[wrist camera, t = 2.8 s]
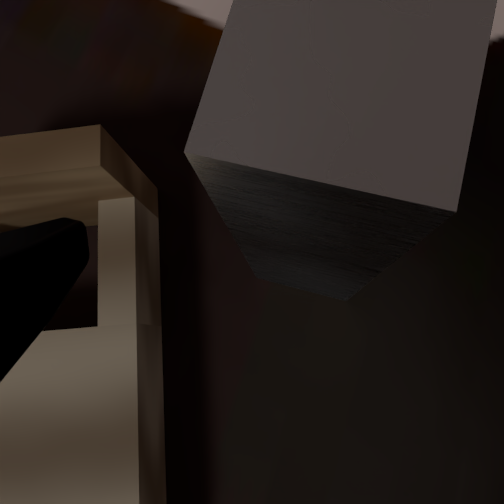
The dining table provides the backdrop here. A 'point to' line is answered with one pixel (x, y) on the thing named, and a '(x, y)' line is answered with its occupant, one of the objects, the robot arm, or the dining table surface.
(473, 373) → the dining table surface
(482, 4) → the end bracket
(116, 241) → the block
